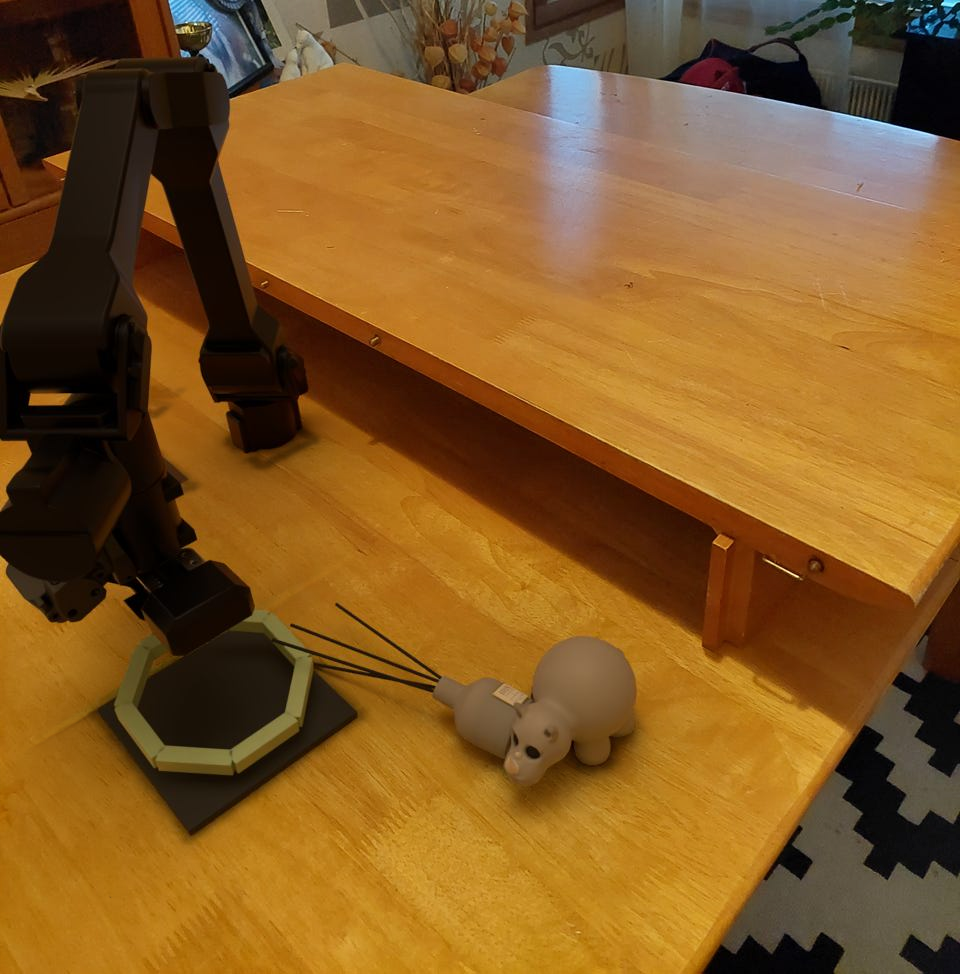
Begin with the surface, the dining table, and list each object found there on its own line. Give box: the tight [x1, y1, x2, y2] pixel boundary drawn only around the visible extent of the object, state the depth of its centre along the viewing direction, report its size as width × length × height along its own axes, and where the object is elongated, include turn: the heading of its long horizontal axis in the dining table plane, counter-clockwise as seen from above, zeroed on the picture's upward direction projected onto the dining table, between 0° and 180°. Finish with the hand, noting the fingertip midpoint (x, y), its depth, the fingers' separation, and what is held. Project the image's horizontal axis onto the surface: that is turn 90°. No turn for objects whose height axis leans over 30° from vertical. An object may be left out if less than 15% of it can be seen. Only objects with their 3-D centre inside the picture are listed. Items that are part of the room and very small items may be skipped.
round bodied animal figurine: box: [502, 635, 638, 787], centre depth 64 cm, size 7×12×8 cm, turn 137°
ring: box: [114, 609, 315, 775], centre depth 68 cm, size 13×13×1 cm
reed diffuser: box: [272, 602, 535, 761], centre depth 69 cm, size 10×7×20 cm
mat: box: [97, 630, 359, 836], centre depth 70 cm, size 14×14×1 cm
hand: (176, 635), depth 71 cm, fingers closed on ring, 1 cm apart
